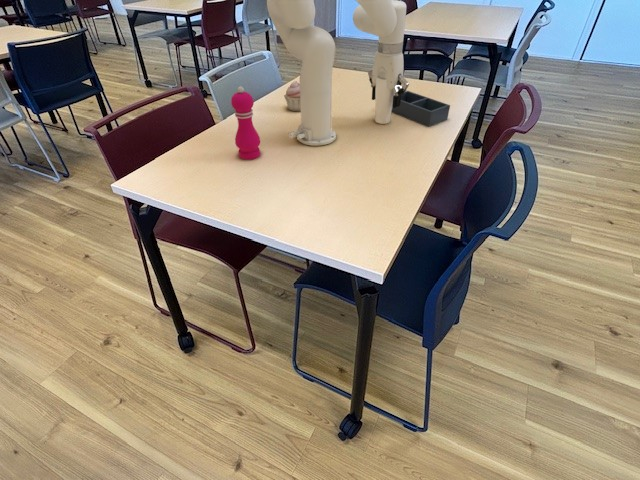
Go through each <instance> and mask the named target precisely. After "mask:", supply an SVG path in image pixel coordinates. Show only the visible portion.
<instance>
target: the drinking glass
mask: <svg viewBox="0 0 640 480" xmlns="http://www.w3.org/2000/svg"><path fill="white" fill-rule="evenodd" d="M394 95H395V94H394V91H393V89H388V88H387V80H384V79H380V78H378V77H377V78H376V87H375V100H374V104H375V105H374V121H375V123H377V124H379V125H386V124H389V123H391V118H392V113H393V112H392V105H393V96H394Z"/></svg>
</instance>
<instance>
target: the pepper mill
mask: <svg viewBox="0 0 640 480" xmlns="http://www.w3.org/2000/svg"><path fill="white" fill-rule="evenodd" d="M254 103H255V102H254V98H253V96H252V94H250V93H249V92H247V91H245V88H244V87H243V86H238V87H237V92H235V93H234V94H233V95H232V97H231V100H230V104H231V106H232V108H233V109H234V116H235V118H236V120H237V131H236V134H235V138H234V141H235V142H234V143H235V146H236V147H237V149H238V157H239V158H240V159H242V160H246V161H247V160H248V161H249V160H255V159H258V158H259V157H260V155H261V149H260V147H259V146H260V145H261V138H260V137H261V136H260V135H259V133H258V131H257V129H256V127H255V126H254V124H253V116H254V110H253V109H252V108H253V107H254Z"/></svg>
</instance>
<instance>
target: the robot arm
mask: <svg viewBox="0 0 640 480" xmlns="http://www.w3.org/2000/svg"><path fill="white" fill-rule="evenodd" d="M355 1H356V3H358V5H357V6H356V8H355V9H354V11H353V14H352V22H353V25H354V27H355V28H356V29H357V30H359V31H360V32H363V33H366V34H370V35H373V36H376V37H378V41H377V42H376V45H377V50H376V51H375V54H374V57H373V59H374V60H373V63H372V69H371V70H369V71H368V72H367V74H368V78H369V79H368V80H369V82H370V87H371V88H372V90H371V100H372V101H375V87H376V78H377V77H378V78H380V79H384V80H387V88H388V89H393V91H394V94H395V95H394V96H393V105H392V107H393V108H396V107H399V106H400V103H401V95H402V94H403V93H404V92H405V91H407V89H408V87H409V86H410V83H409V81H408V80H407V79H406V78H405V76H404V66H405V65H404V62H405V61H404V53H403V48H404V47H403V46H404V38H405V37H404V36H405V29H406V28H405V27H406V19H407V17H406V16H407V4H406V2H404V1H403V0H355ZM266 8H267V12H268V15H269V18H270V19H271V22H272V24H273V27H274V28H275V30H276V32H277V33H278V35H279V37H280V39H281V41H282V43H283V46H284V47H285V48H286V50H287V51H288V52H289V54H290V55H291V56H292V57H294V58H296V59H298V60H299V61H301V68H300V73H299V84H300V104H301V111H300V124H299V125H298V126H297V127H298V128H297V129H296V130H293V131H290V132H288V138H289V139H294V138H296V139H297V140H298V142H299V143H301V144H303V145H306V146H313V147H314V146H315V147H317V146H318V147H319V146H320V147H321V146H325V145H329V144H332V143H333V142H334V141H336V138H337V133H336V132H335V130H334V129H332V111H333V110H332V107H333V106H332V102H333V101H332V100H333V99H332V98H333V97H332V96H333V95H332V94H333V69H334V62H335V57H336V43H335V40H334V38H333V36H332V35H331V33H330V32H328V31H327V30H325V29H324V28H322V27H320V26H316V25H313V22H314V21H315V17H316V6H315V2H314V0H266Z"/></svg>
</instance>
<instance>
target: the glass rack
mask: <svg viewBox="0 0 640 480" xmlns="http://www.w3.org/2000/svg"><path fill="white" fill-rule="evenodd" d="M450 108H451V104H448V103H445V102H442V101H439V100H437V99H433V98H431V97H428V96H427V97H426V96H425V95H422V94H419V93H416V92H414V91H410V90H406V91H405V92H404V93H403V94H402V95H401V103H400V106H399V107H396V108H393V107H392V112H391V113H393V114H395V115H397V116H401V117H403V118H405V119H409V120H410V121H413V122H415V123H418V124H421V125H423V126H426V127H431V126H435V125H437V124H439V123H442V122H445V121H447V120H448V119H449V118H448V117H449V113H450Z"/></svg>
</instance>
